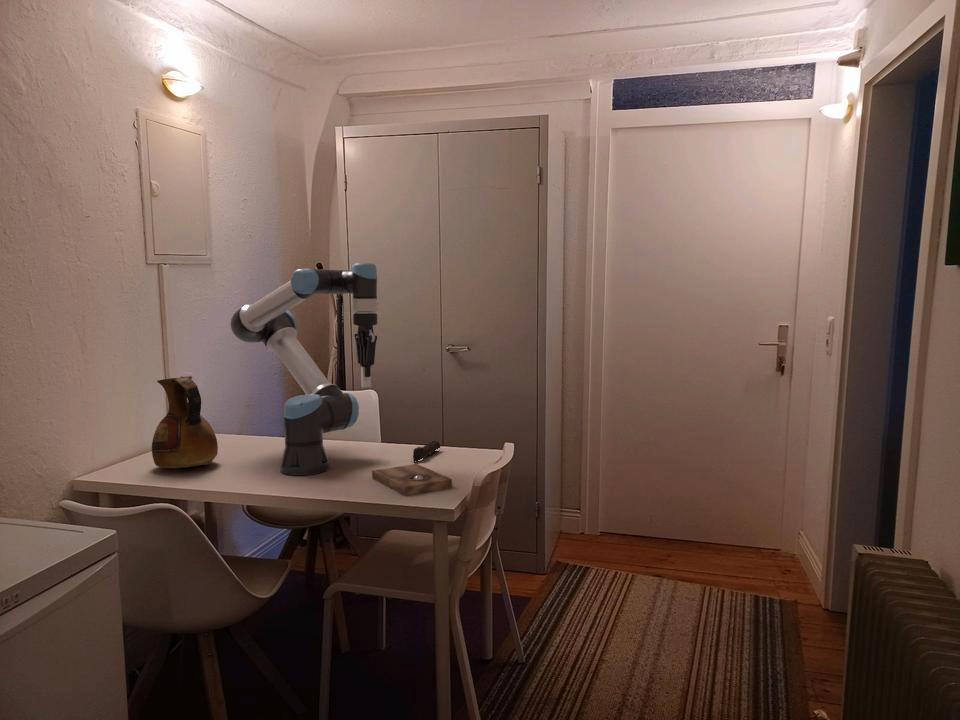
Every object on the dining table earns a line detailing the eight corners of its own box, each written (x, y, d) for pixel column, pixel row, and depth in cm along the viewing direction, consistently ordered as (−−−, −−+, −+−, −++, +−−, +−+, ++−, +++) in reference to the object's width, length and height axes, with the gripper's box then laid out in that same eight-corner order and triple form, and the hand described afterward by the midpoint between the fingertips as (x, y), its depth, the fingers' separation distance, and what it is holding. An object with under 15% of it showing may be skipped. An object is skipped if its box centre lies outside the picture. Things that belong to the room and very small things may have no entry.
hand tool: (430, 451, 248) (430, 438, 247) (440, 452, 246) (440, 439, 246) (406, 463, 230) (405, 449, 230) (417, 464, 229) (416, 450, 228)
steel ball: (412, 489, 201) (416, 484, 198) (409, 478, 202) (413, 474, 200) (422, 487, 202) (426, 483, 200) (419, 477, 204) (423, 472, 201)
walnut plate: (404, 495, 191) (404, 486, 191) (372, 478, 210) (372, 470, 210) (451, 487, 200) (451, 479, 199) (416, 471, 218) (416, 463, 218)
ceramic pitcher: (192, 457, 239) (188, 371, 237) (232, 464, 229) (228, 374, 226) (139, 470, 222) (134, 377, 220) (179, 478, 212) (175, 380, 209)
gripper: (384, 313, 216) (385, 388, 218) (368, 312, 227) (369, 383, 229) (362, 313, 212) (363, 390, 214) (346, 312, 223) (347, 385, 225)
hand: (366, 386), depth 221 cm, fingers closed
